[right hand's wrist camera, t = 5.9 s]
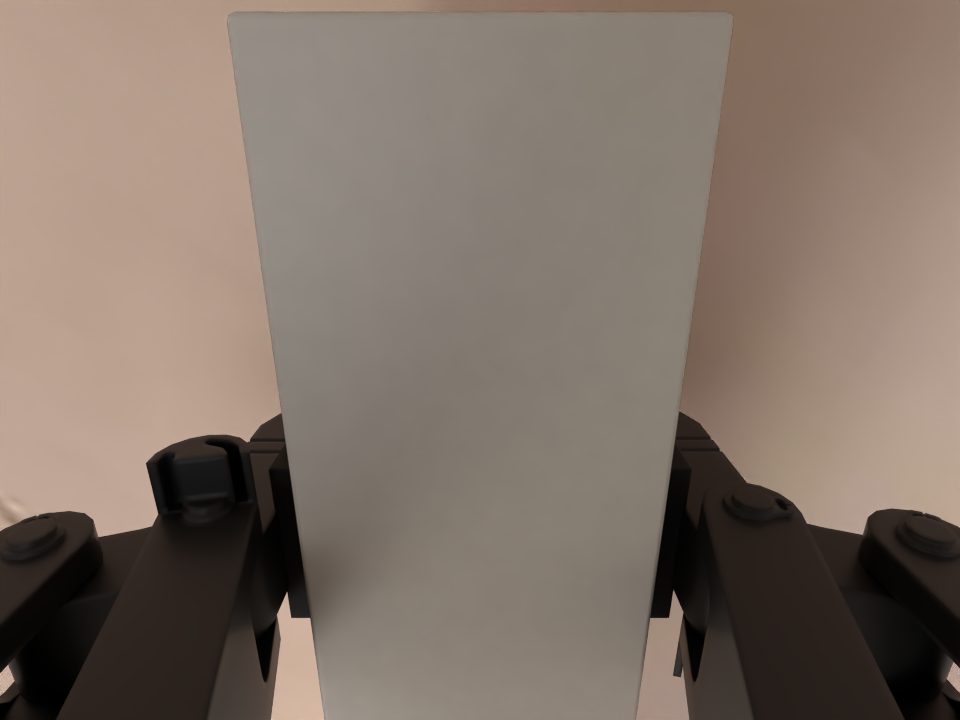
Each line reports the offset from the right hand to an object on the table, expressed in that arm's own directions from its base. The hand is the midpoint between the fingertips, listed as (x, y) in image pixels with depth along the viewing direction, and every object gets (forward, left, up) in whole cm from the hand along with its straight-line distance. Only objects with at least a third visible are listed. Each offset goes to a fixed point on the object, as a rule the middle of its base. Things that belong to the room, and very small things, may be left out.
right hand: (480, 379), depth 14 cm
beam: (+14, +15, -1) cm, 20 cm away
